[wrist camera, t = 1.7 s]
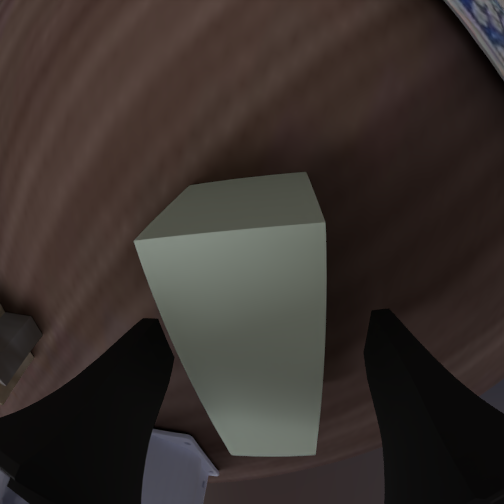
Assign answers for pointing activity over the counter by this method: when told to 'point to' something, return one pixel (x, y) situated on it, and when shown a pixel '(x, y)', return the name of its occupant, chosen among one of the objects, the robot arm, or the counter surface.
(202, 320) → the block
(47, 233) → the counter surface
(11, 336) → the wooden base
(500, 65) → the ceramic plate
